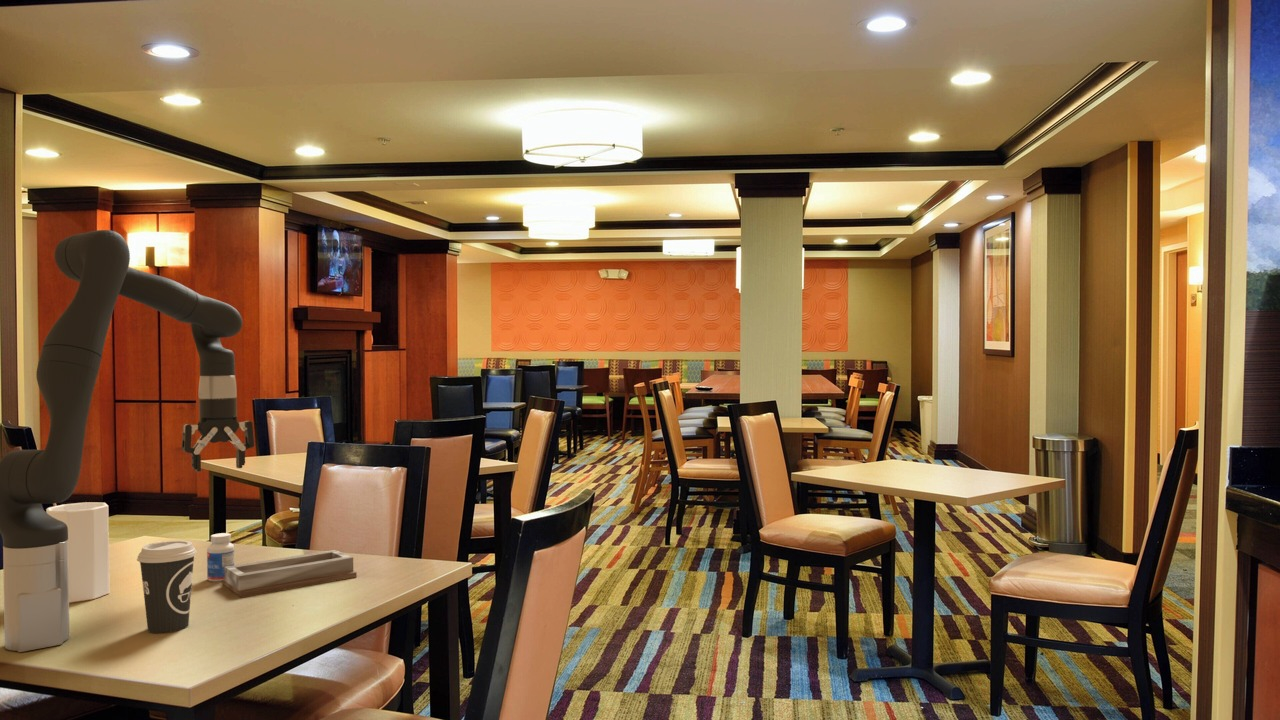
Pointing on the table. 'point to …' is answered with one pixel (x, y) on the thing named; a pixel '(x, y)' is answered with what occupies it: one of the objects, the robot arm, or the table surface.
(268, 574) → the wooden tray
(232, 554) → the pill bottle
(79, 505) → the cup
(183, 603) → the coffee cup
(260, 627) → the table surface
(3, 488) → the robot arm
